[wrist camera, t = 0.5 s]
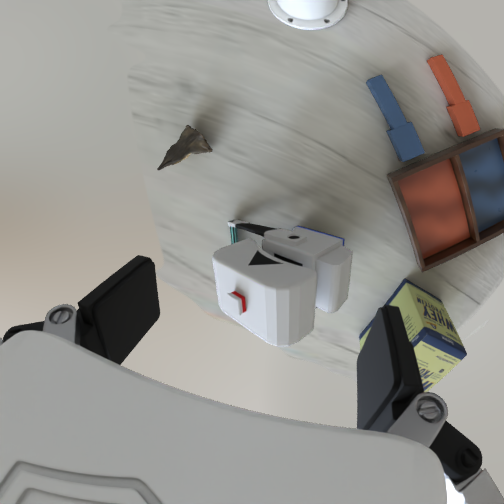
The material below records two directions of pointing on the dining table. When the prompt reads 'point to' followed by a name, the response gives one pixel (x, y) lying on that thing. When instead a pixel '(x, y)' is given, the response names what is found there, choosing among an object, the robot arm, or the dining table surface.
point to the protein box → (426, 332)
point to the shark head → (185, 147)
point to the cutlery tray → (453, 198)
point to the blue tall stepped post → (395, 121)
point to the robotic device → (281, 280)
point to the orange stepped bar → (454, 97)
